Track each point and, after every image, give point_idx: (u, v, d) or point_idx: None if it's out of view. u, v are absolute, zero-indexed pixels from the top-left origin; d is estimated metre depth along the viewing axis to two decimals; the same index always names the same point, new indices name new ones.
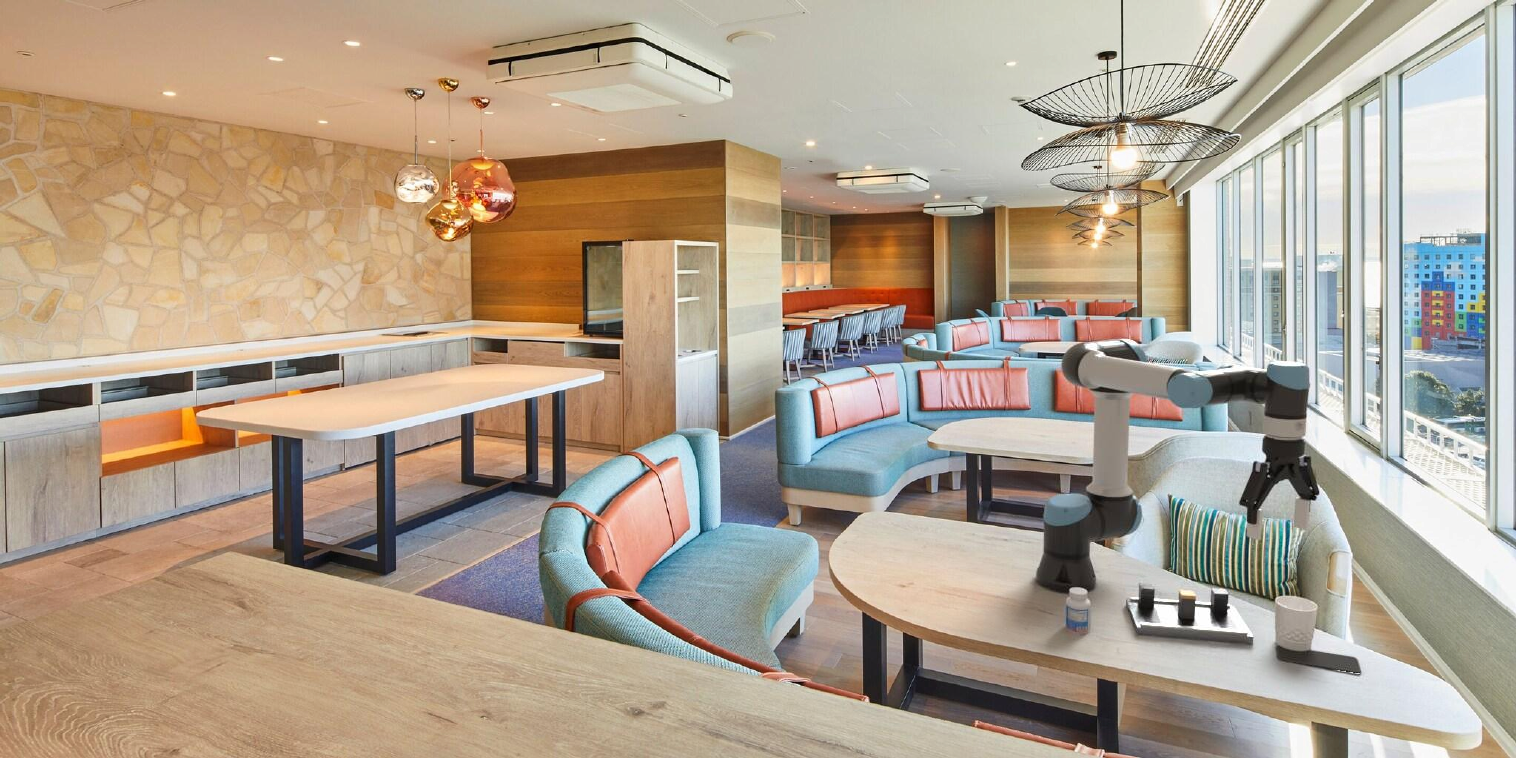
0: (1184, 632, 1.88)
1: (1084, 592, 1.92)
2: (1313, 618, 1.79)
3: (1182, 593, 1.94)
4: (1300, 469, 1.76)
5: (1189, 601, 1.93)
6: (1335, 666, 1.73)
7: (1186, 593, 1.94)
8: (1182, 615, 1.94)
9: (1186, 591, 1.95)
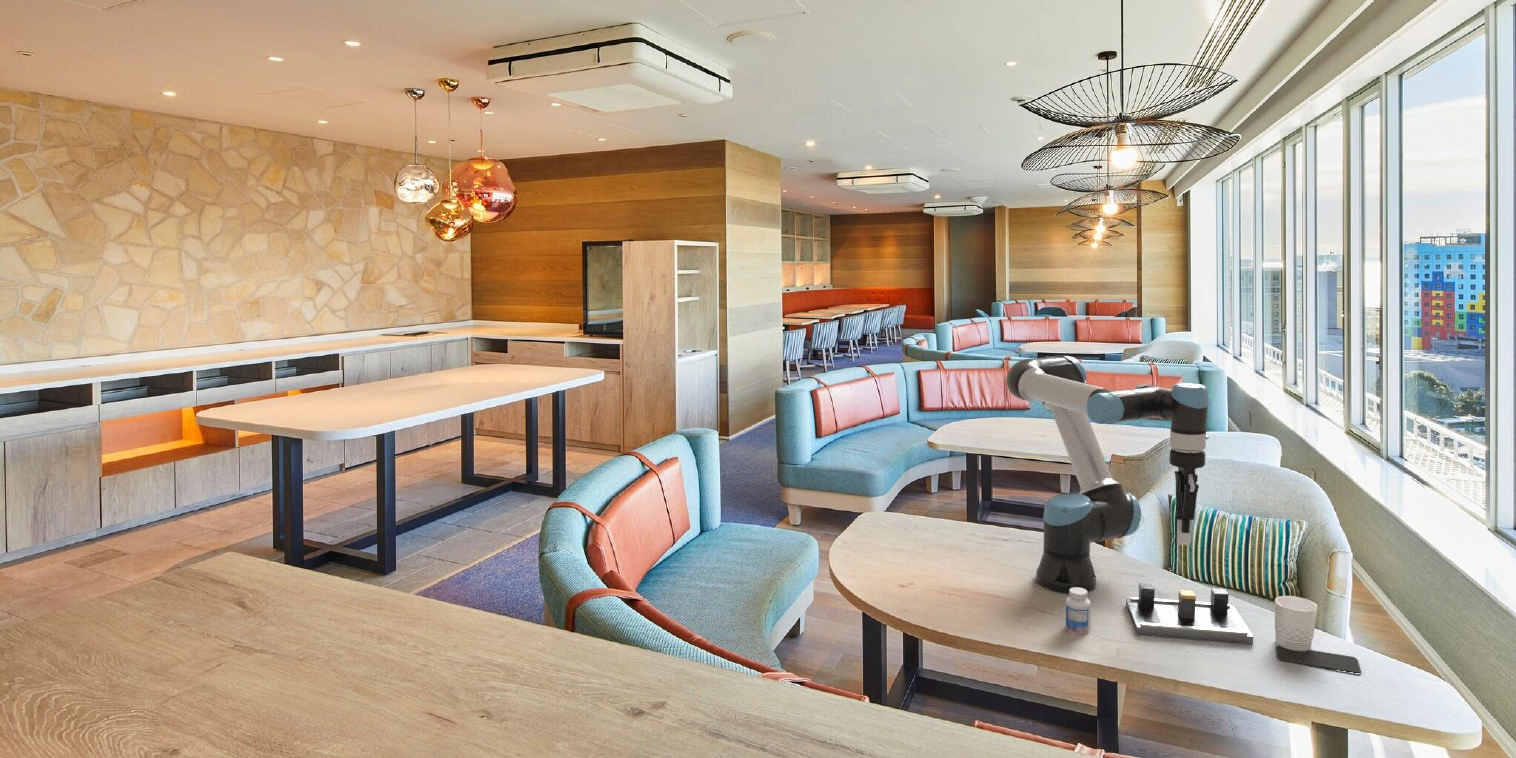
0: (1184, 632, 1.88)
1: (1084, 592, 1.92)
2: (1313, 618, 1.79)
3: (1182, 593, 1.94)
4: None
5: (1189, 601, 1.93)
6: (1335, 666, 1.73)
7: (1186, 593, 1.94)
8: (1182, 615, 1.94)
9: (1186, 591, 1.95)
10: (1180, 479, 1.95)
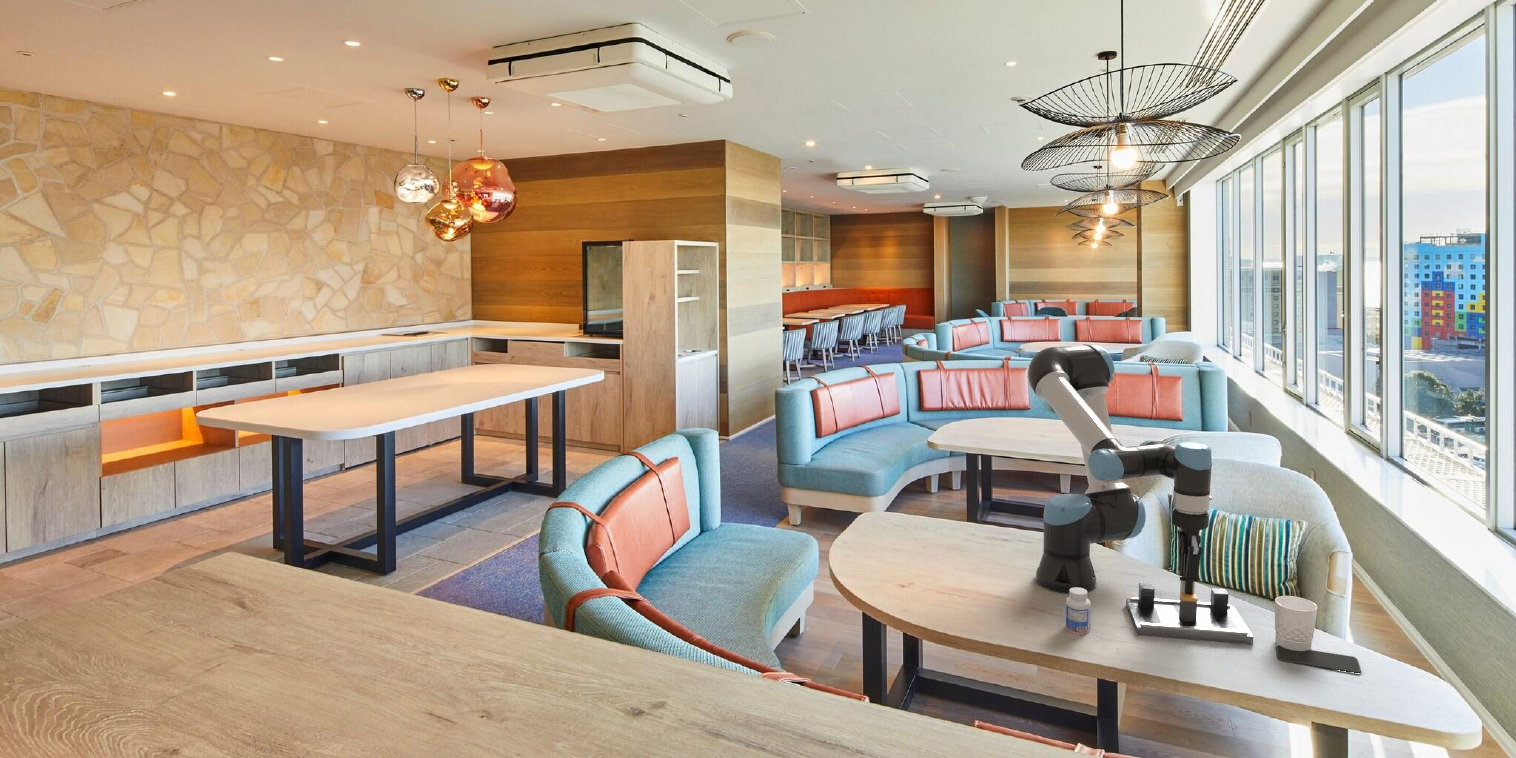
0: (1184, 632, 1.88)
1: (1084, 592, 1.92)
2: (1313, 618, 1.79)
3: (1183, 596, 1.93)
4: None
5: (1190, 603, 1.92)
6: (1335, 666, 1.73)
7: (1187, 596, 1.92)
8: (1183, 618, 1.92)
9: None
10: (1183, 540, 1.91)
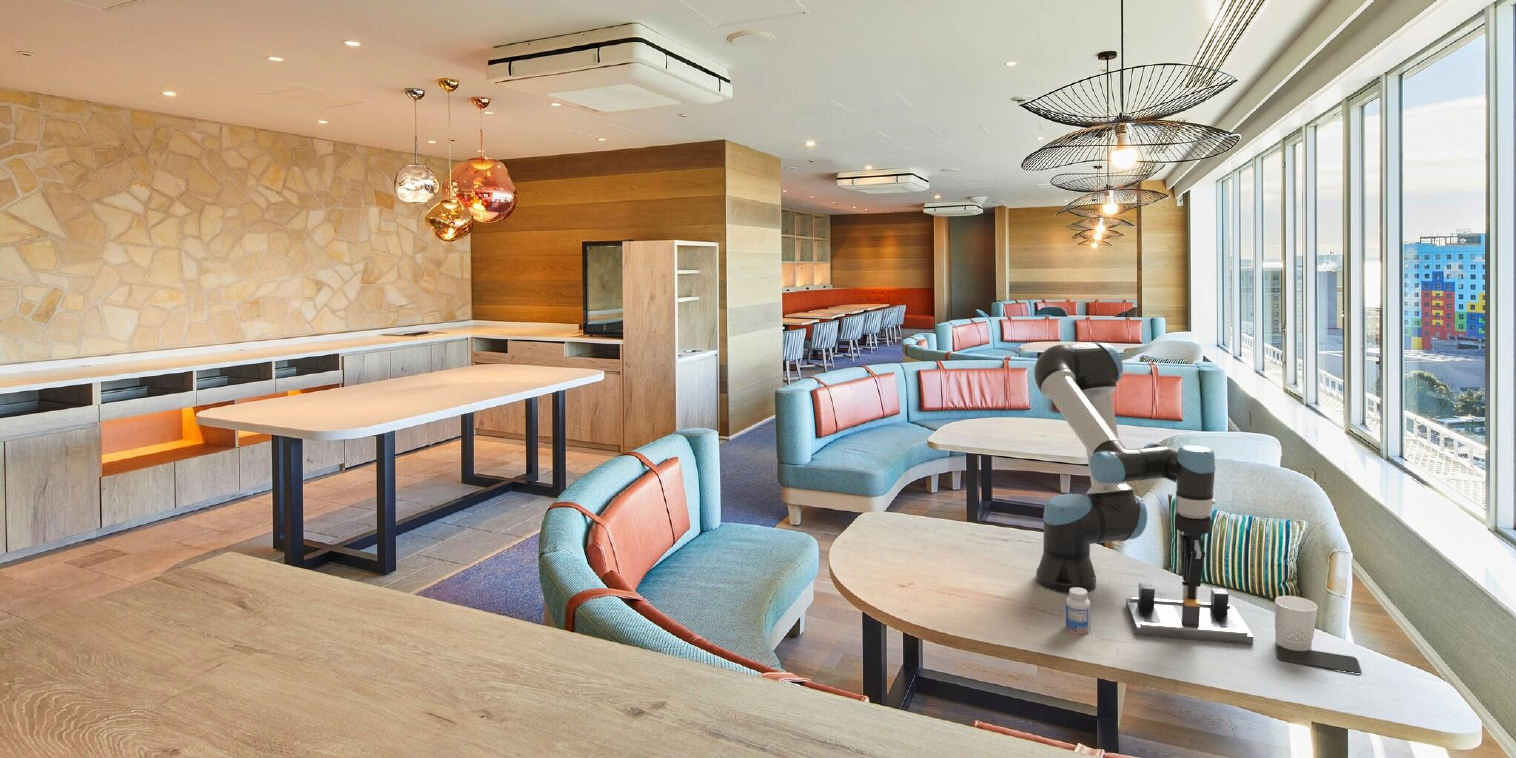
0: (1184, 632, 1.88)
1: (1084, 592, 1.92)
2: (1313, 618, 1.79)
3: (1186, 600, 1.90)
4: None
5: (1193, 608, 1.89)
6: (1335, 666, 1.73)
7: (1190, 600, 1.90)
8: (1186, 623, 1.90)
9: None
10: (1186, 544, 1.89)
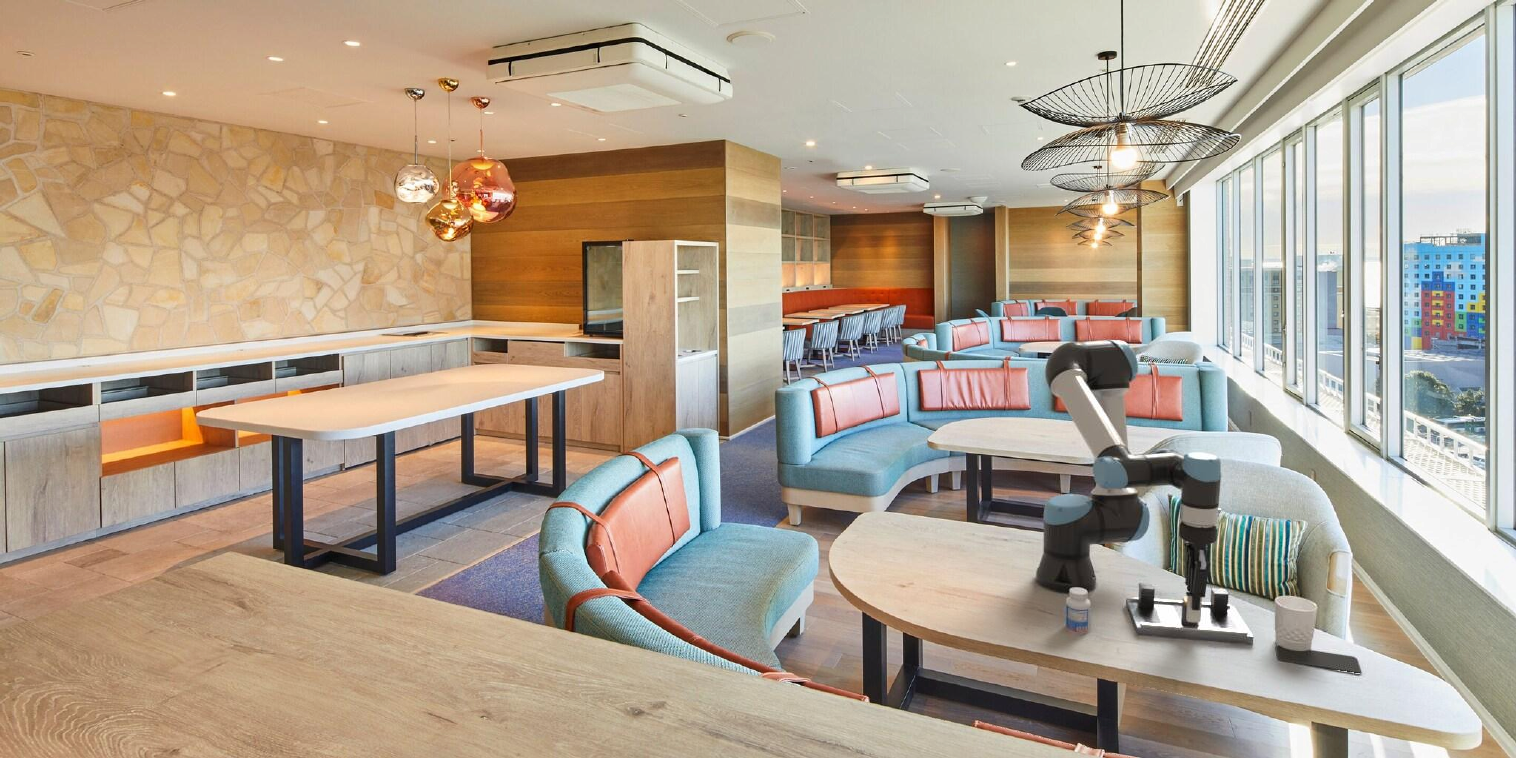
0: (1184, 632, 1.88)
1: (1084, 592, 1.92)
2: (1313, 618, 1.79)
3: (1186, 600, 1.90)
4: None
5: None
6: (1335, 666, 1.73)
7: None
8: (1186, 622, 1.90)
9: None
10: (1190, 554, 1.84)
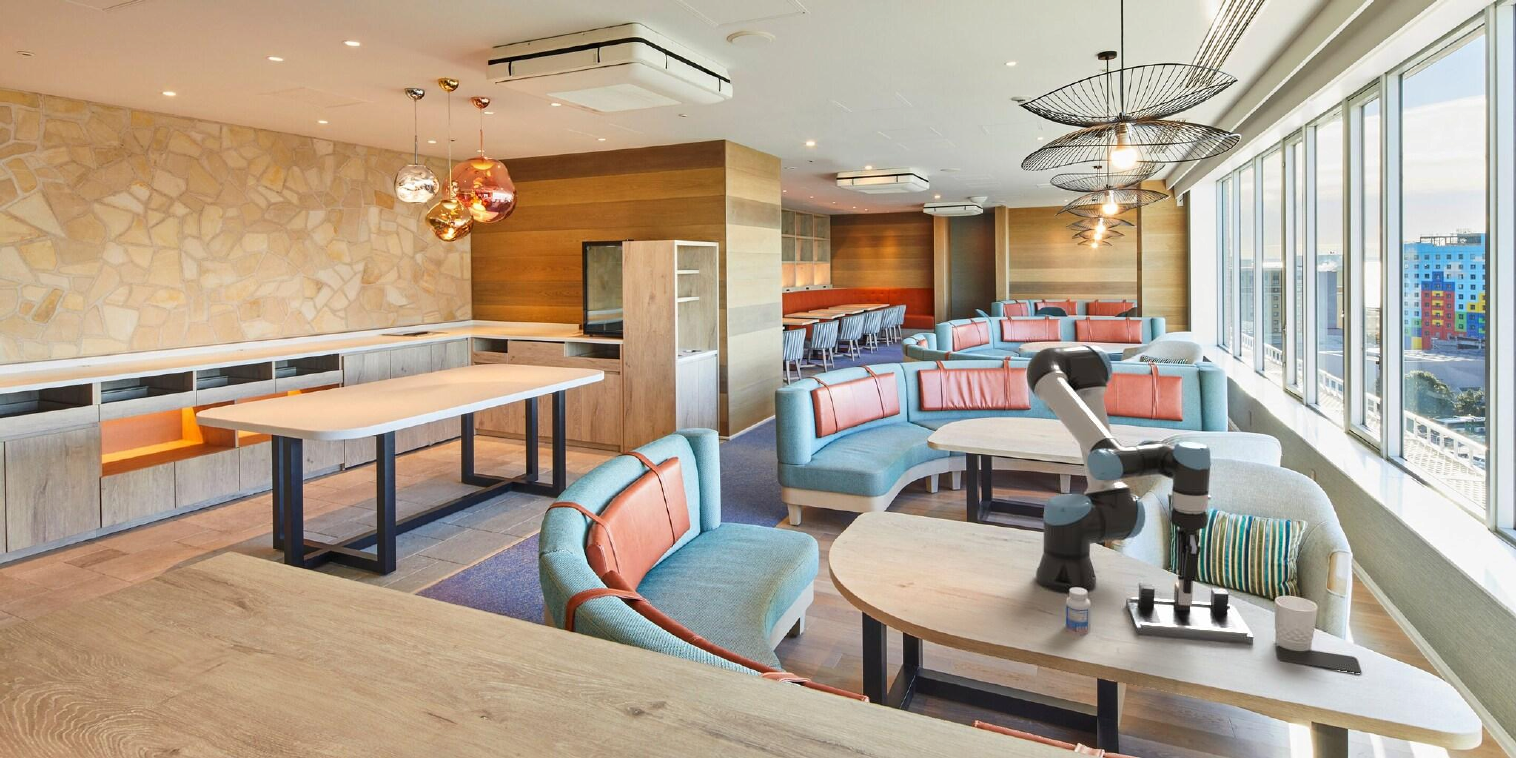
0: (1184, 632, 1.88)
1: (1084, 592, 1.92)
2: (1313, 618, 1.79)
3: (1178, 585, 1.98)
4: None
5: None
6: (1335, 666, 1.73)
7: None
8: (1178, 607, 1.98)
9: None
10: (1182, 539, 1.92)
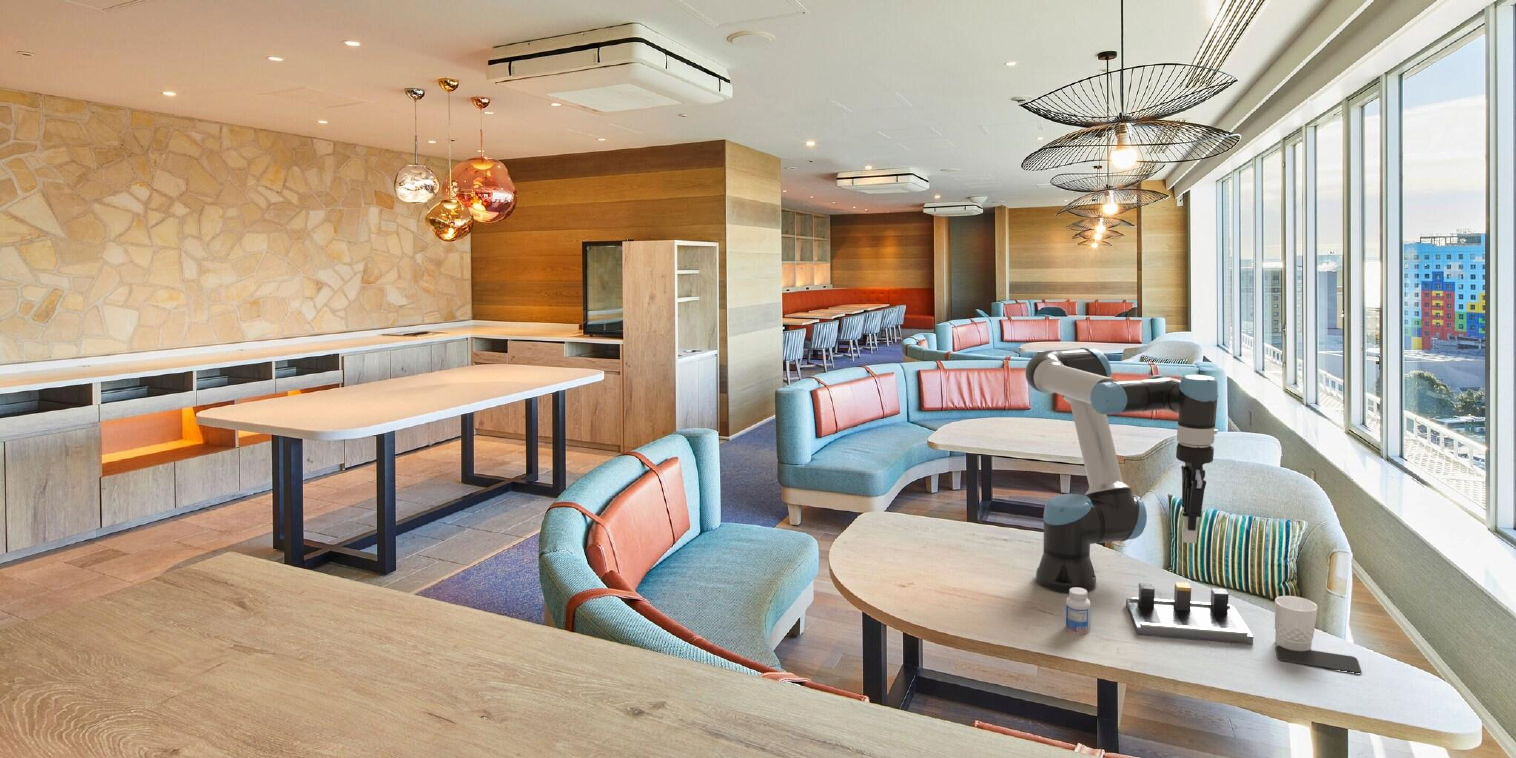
0: (1184, 632, 1.88)
1: (1084, 592, 1.92)
2: (1313, 618, 1.79)
3: (1178, 585, 1.98)
4: None
5: (1185, 593, 1.97)
6: (1335, 666, 1.73)
7: (1182, 585, 1.98)
8: (1178, 607, 1.98)
9: (1182, 583, 1.99)
10: (1187, 475, 1.87)
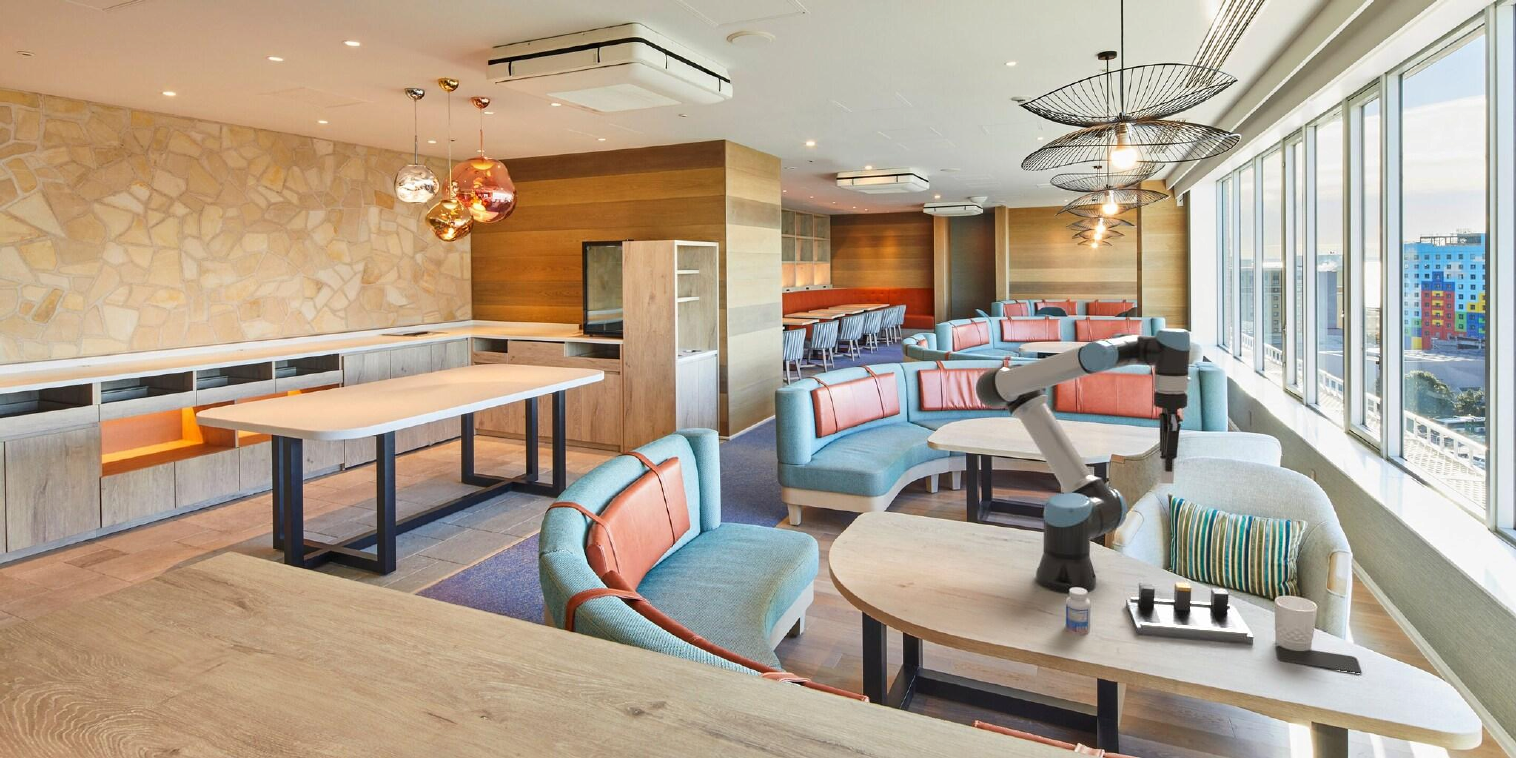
0: (1184, 632, 1.88)
1: (1084, 592, 1.92)
2: (1313, 618, 1.79)
3: (1178, 585, 1.98)
4: None
5: (1185, 593, 1.97)
6: (1335, 666, 1.73)
7: (1182, 585, 1.98)
8: (1178, 607, 1.98)
9: (1182, 583, 1.99)
10: (1163, 420, 2.04)
